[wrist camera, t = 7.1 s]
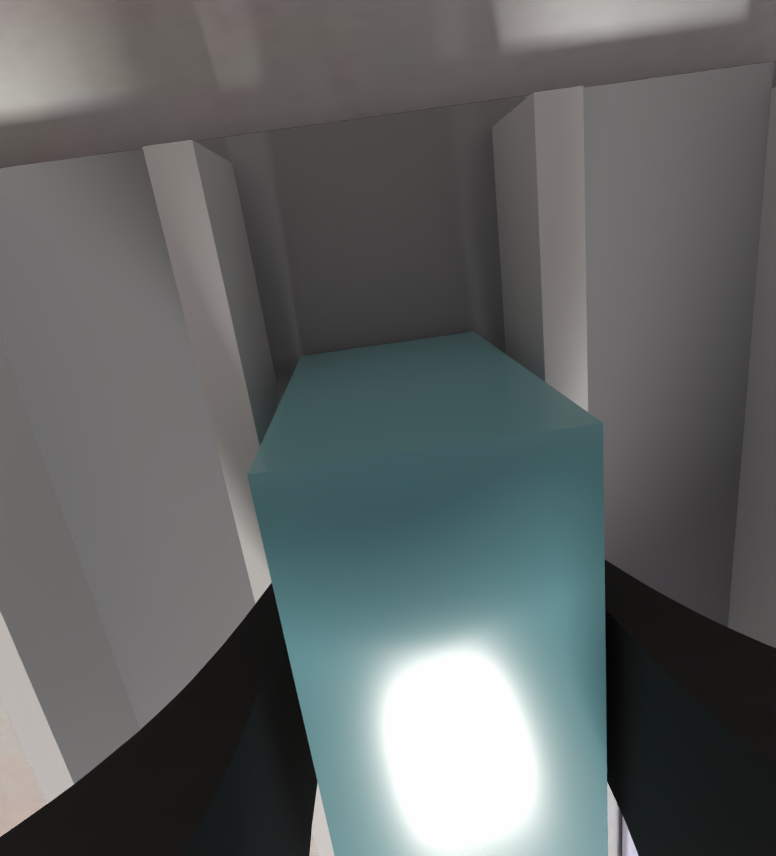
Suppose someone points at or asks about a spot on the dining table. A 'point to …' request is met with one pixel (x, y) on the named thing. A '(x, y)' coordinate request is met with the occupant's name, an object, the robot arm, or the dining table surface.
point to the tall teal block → (442, 598)
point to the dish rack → (362, 327)
